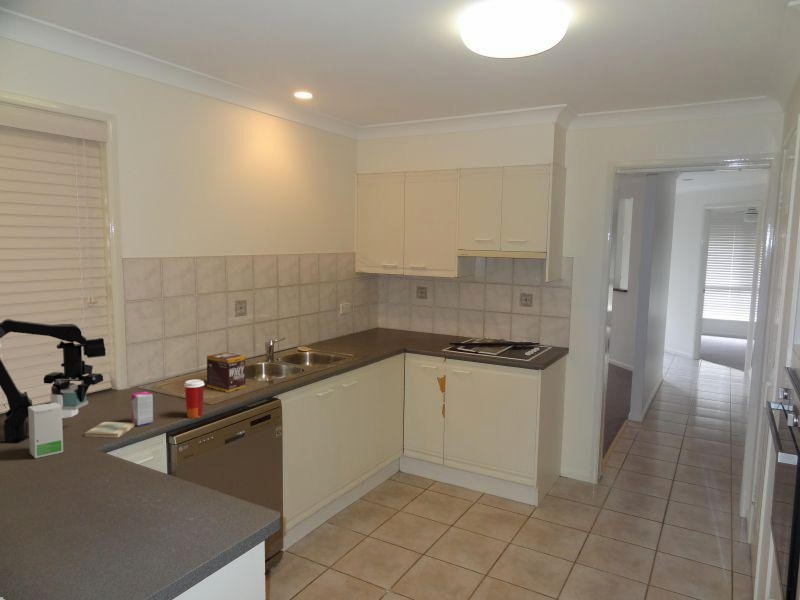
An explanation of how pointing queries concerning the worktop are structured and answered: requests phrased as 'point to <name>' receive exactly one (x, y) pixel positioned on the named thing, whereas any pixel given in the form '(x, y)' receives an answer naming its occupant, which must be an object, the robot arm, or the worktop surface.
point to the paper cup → (194, 398)
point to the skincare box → (45, 430)
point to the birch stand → (110, 429)
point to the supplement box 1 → (142, 408)
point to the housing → (72, 398)
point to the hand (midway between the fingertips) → (74, 401)
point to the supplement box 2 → (225, 371)
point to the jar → (61, 402)
